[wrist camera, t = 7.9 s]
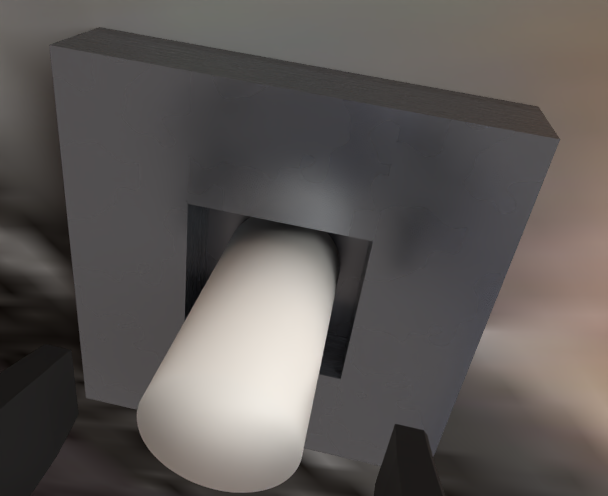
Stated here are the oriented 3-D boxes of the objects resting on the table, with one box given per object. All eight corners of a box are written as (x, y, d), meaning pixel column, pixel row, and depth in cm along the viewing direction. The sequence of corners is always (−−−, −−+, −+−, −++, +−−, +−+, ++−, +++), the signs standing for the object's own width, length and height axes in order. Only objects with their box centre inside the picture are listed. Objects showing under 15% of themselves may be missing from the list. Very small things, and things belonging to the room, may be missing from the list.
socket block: (538, 106, 14) (560, 139, 12) (424, 419, 21) (425, 476, 19) (99, 27, 15) (49, 44, 13) (118, 350, 22) (86, 398, 20)
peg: (350, 224, 17) (316, 397, 11) (329, 317, 18) (289, 507, 13) (233, 199, 17) (135, 355, 11) (224, 293, 19) (137, 469, 13)
